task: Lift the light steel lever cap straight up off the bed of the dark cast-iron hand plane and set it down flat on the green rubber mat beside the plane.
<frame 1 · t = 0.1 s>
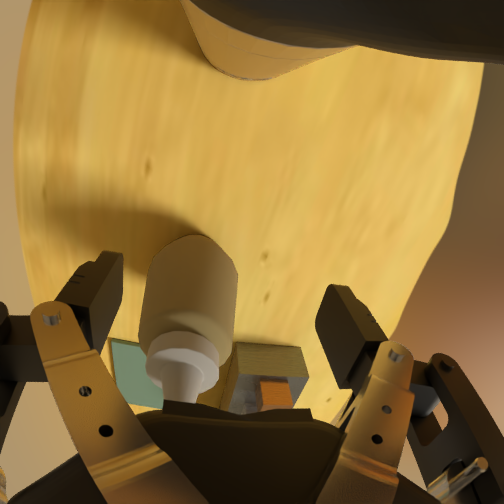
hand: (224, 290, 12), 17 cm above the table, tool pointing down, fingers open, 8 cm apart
plane body: (253, 389, 40), on the table
squeeze bottle: (195, 259, 31), on the table
mat: (151, 378, 38), on the table
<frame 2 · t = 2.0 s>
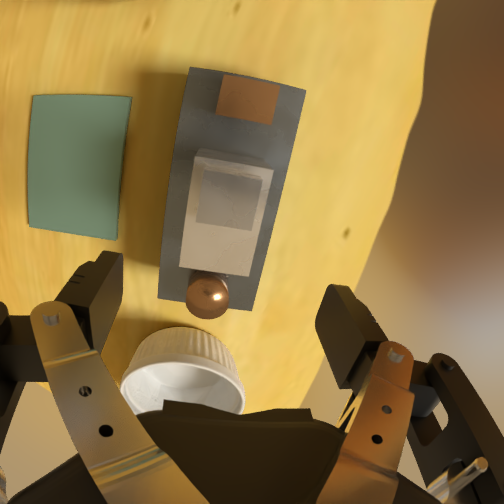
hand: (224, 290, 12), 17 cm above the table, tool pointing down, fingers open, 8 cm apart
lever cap: (222, 201, 22), point 5 cm above the table, touching plane body
plane body: (222, 184, 27), on the table
mat: (73, 165, 24), on the table
ramekin: (185, 358, 35), on the table
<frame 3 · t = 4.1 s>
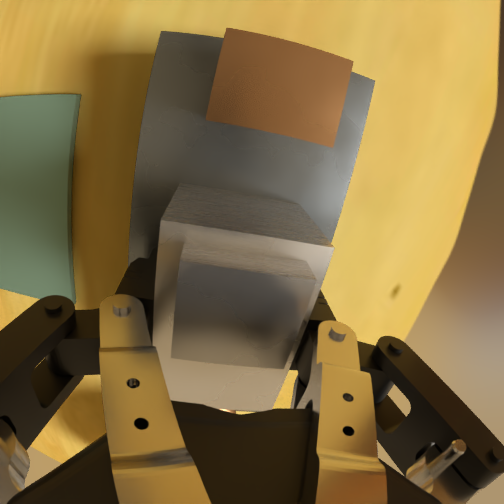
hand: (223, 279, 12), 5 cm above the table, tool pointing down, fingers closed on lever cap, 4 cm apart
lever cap: (224, 276, 13), point 5 cm above the table, touching gripper, plane body
plane body: (222, 230, 17), on the table
mat: (8, 200, 15), on the table
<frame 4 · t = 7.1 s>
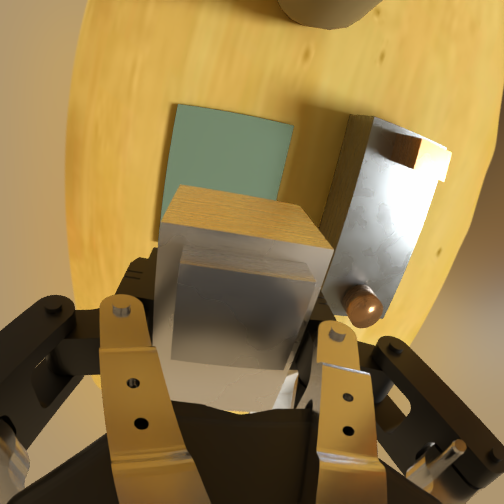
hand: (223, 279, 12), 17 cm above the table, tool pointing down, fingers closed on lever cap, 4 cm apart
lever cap: (224, 277, 13), point 16 cm above the table, touching gripper
plane body: (361, 212, 30), on the table
squeeze bottle: (309, 1, 21), on the table
mat: (221, 184, 27), on the table
ramekin: (295, 364, 39), on the table
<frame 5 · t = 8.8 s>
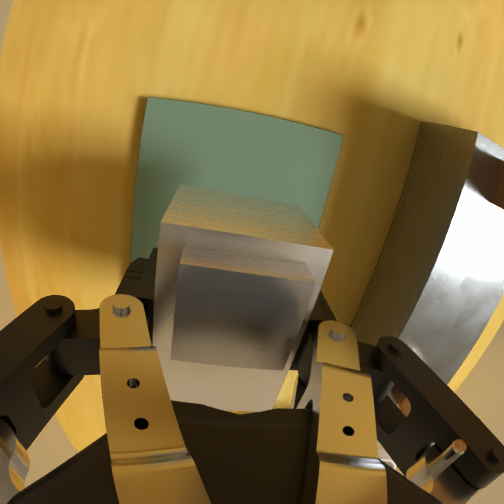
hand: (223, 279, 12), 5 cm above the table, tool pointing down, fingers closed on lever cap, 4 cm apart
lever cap: (224, 277, 13), point 5 cm above the table, touching gripper
plane body: (424, 264, 20), on the table
mat: (223, 230, 17), on the table
when the fingers open (2 cm above the table, at t = 10.2 s): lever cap drops 1 cm, resting on mat.
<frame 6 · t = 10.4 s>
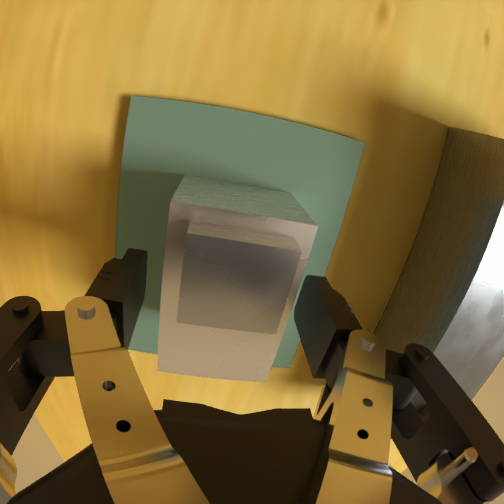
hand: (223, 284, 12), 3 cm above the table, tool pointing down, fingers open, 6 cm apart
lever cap: (223, 258, 14), point 1 cm above the table, touching mat
plane body: (444, 285, 17), on the table
mat: (222, 253, 15), on the table
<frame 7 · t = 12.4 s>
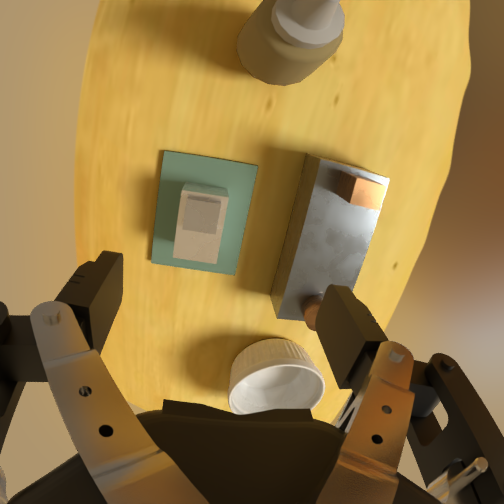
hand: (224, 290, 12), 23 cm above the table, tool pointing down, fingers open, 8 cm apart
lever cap: (201, 216, 34), point 1 cm above the table, touching mat
plane body: (319, 234, 37), on the table
squeeze bottle: (272, 54, 28), on the table
mat: (201, 214, 34), on the table
ramekin: (269, 363, 45), on the table
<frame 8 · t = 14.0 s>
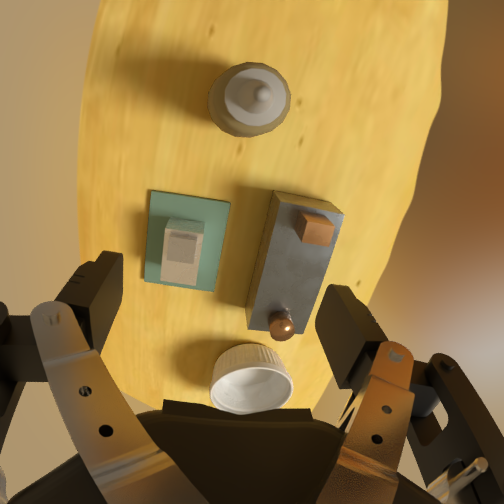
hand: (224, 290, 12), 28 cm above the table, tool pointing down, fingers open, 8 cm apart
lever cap: (184, 244, 40), point 1 cm above the table, touching mat
plane body: (286, 258, 43), on the table
squeeze bottle: (242, 102, 34), on the table
mat: (184, 242, 41), on the table
ramekin: (248, 364, 52), on the table
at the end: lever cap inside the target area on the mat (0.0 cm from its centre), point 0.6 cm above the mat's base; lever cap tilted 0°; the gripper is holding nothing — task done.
